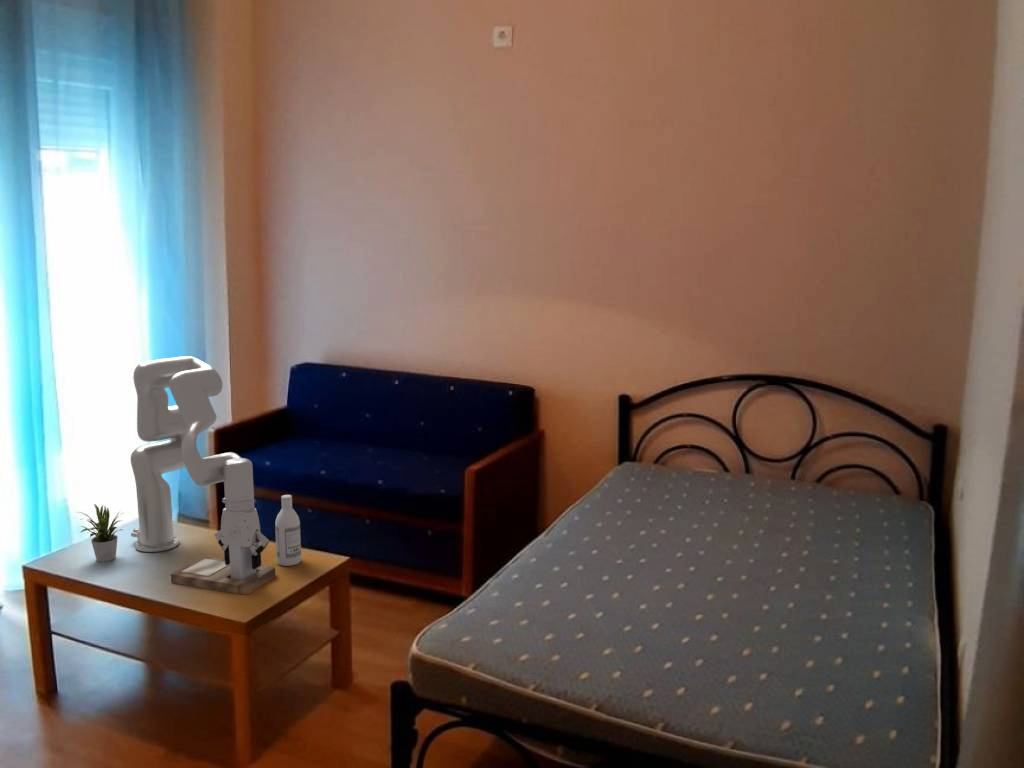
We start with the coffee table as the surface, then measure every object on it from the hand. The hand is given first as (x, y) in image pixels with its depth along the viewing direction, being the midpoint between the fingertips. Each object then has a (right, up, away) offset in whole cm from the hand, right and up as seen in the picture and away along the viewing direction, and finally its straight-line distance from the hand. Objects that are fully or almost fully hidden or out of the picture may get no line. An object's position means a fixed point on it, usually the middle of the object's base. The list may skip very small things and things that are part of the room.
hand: (243, 565), depth 253 cm
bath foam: (+9, -2, +16) cm, 18 cm away
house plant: (-46, -2, +18) cm, 50 cm away
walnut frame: (-6, -4, +3) cm, 8 cm away
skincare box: (0, -5, +1) cm, 5 cm away
